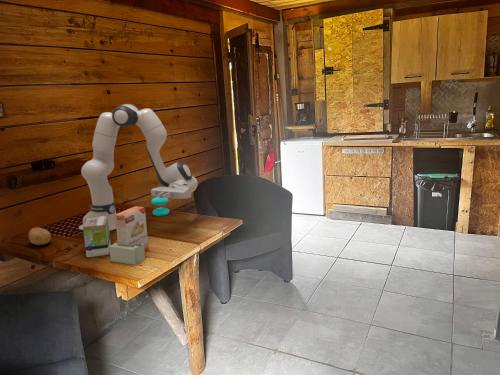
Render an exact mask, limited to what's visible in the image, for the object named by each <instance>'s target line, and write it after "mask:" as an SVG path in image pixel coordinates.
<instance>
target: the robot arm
mask: <svg viewBox="0 0 500 375" xmlns="http://www.w3.org/2000/svg"><path fill="white" fill-rule="evenodd" d="M95 125H96V126H95V129H94V134H93V137H92V138H93V139H92V144H91V146H92V150H93V151H92V154H93V156H92V159H90V160H88V161H86V162H85V163H84V164H83V166H81V170H80V173H81V176H82V178H84V179H85V181H86V183H87V185H88V188H89V191H90V192H89V193H90V196H91V197H90V198H91V204H89V205H88V206H89V208H90V211H88V212H87V213H86V215H84V216H83V218H82V224H81V225H80V226H78V230H82V231H83V226H84V223H85V221H86V218H92V217H101V216H107V217H108V224H109V232H110V231H113V230H117V229H116V220H115V215H116V214H117V211H116V203H115V201H114V200H115V199H114V192H113V187H112V186H111V185H110V183H109V180H108V176H109V175H110V174H112V172H113V170H114V169H115V162H114V157H115V155H114V154H115V151H114V150H115V146H116V142H117V139H118V138H117V137H118V132H119V130H120V127H123V128H125V127H132V126H137V127H139V129H140V130H141V132H142V134H143V136H144V137H145V141H146V146H145V147H146V152H147V154H148V157H149V158H150V161H151V163H152V165H153V169H154V170H155V172H156V176H157V180H158V182H159V184H160V185H162V186H157V187H155V188H151V190H150V194H151V196H152V197H154V198H156V197H159V198H168V199H175V200H178V199H181V200H187V199H189V198H192V193H193V192H194V191H196V189H197V187H198V184H199V182H198V180H197V178H196V177H195V176H193V174H192V171H191V169H190V168H191V167H190V166H189V165H188V163H186V162H183V161H177V162H175V163H173V164H172V165H169V166H167V167H166V166H165V163H164V162H163V159H162V157H161V154H160V151H161V148H162V147H163V145H164V143H166V140H167V137H168V132H167V130H166V128H165V126H164V125H163V123H162V121H161V119H160V117H158V116H157V114H156V113H155V112H154V111H153V109H151V108H143V109H141V110H140V109H139V107H138V106H136V105H135V104H133V103H124V104H120V105H118V106H116V107H115V108H114V109H113V110H112V112H109V111H108V112H107V111H106V112H105V111H104V112H102V113H101V114H100V115H99V117H98V120H97V122H96V124H95Z"/></svg>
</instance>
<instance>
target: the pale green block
mask: <svg viewBox="0 0 500 375" xmlns="http://www.w3.org/2000/svg"><path fill="white" fill-rule="evenodd" d="M109 249H110V250H109V255H110V262H114V263H121V264H126V265H132V266H136V265H138V264H139V263H141V262H143V261H144V260H145V259H146V254H145V252H146V251H145V252H144V244H142V243H141V242H138V243H136V246H134V247H126V246H119V245H118V239H117V240H115V243H113V244H110V246H109Z"/></svg>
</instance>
